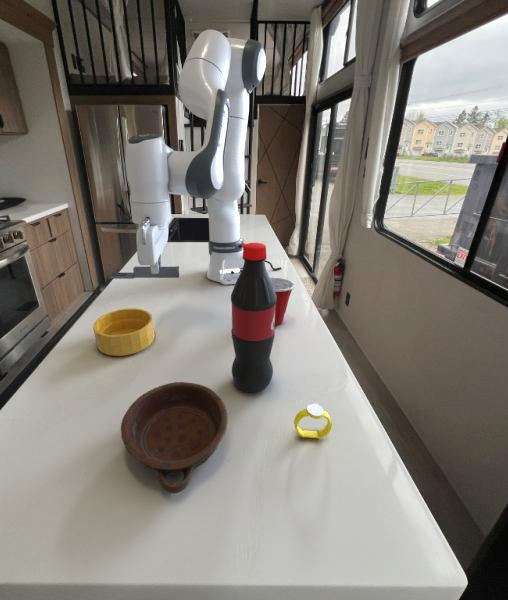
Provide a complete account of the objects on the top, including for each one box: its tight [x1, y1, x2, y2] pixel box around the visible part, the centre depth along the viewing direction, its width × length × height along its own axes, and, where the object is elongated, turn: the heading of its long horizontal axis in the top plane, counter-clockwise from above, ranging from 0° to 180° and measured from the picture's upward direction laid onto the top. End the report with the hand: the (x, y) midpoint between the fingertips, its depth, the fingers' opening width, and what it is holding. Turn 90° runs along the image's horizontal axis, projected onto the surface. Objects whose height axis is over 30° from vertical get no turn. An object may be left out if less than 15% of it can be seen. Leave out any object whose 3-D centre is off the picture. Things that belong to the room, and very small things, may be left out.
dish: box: [120, 381, 229, 495], centre depth 55 cm, size 18×22×5 cm
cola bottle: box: [230, 242, 277, 393], centre depth 62 cm, size 8×8×30 cm
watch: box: [293, 403, 333, 440], centre depth 54 cm, size 6×3×6 cm, turn 87°
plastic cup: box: [270, 276, 295, 327], centre depth 89 cm, size 11×11×12 cm
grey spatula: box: [108, 266, 181, 280], centre depth 80 cm, size 17×3×2 cm, turn 91°
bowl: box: [92, 307, 155, 357], centre depth 82 cm, size 14×14×6 cm
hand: (156, 270), depth 80 cm, fingers closed on grey spatula, 1 cm apart
